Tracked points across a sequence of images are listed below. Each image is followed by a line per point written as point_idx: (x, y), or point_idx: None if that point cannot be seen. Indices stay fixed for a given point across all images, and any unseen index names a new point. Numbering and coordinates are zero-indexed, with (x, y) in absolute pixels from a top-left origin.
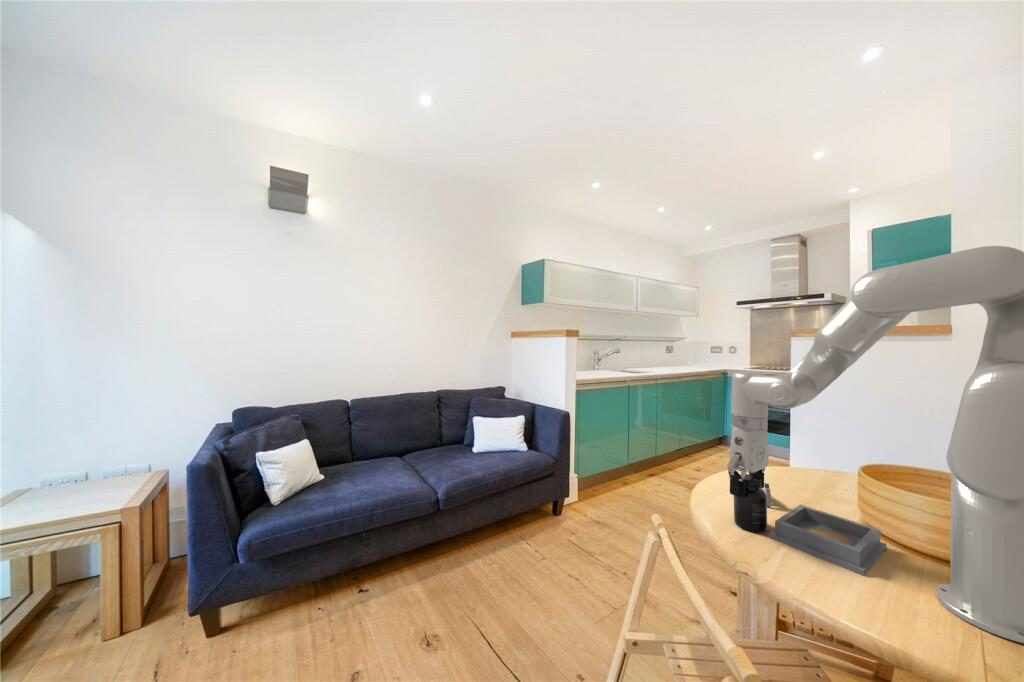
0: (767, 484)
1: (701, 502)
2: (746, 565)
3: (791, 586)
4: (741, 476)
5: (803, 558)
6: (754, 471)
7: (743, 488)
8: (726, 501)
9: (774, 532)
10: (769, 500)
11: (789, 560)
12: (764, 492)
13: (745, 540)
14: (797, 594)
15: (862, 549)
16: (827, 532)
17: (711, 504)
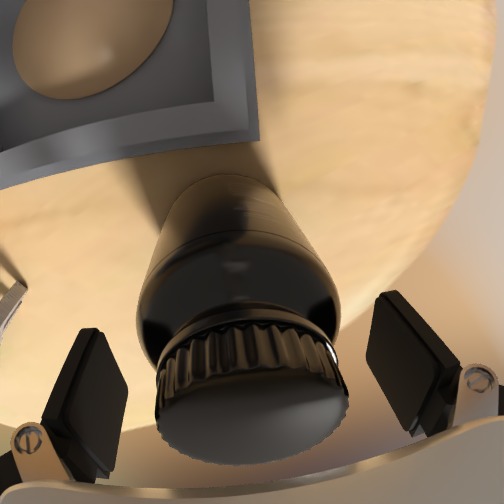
0: None
1: None
2: (474, 118)
3: (464, 16)
4: (496, 399)
5: (301, 7)
6: (465, 442)
7: (430, 331)
8: (126, 370)
9: (228, 135)
10: (9, 297)
11: (359, 34)
12: (196, 271)
13: (357, 181)
14: (475, 5)
15: None
16: (39, 40)
17: None
